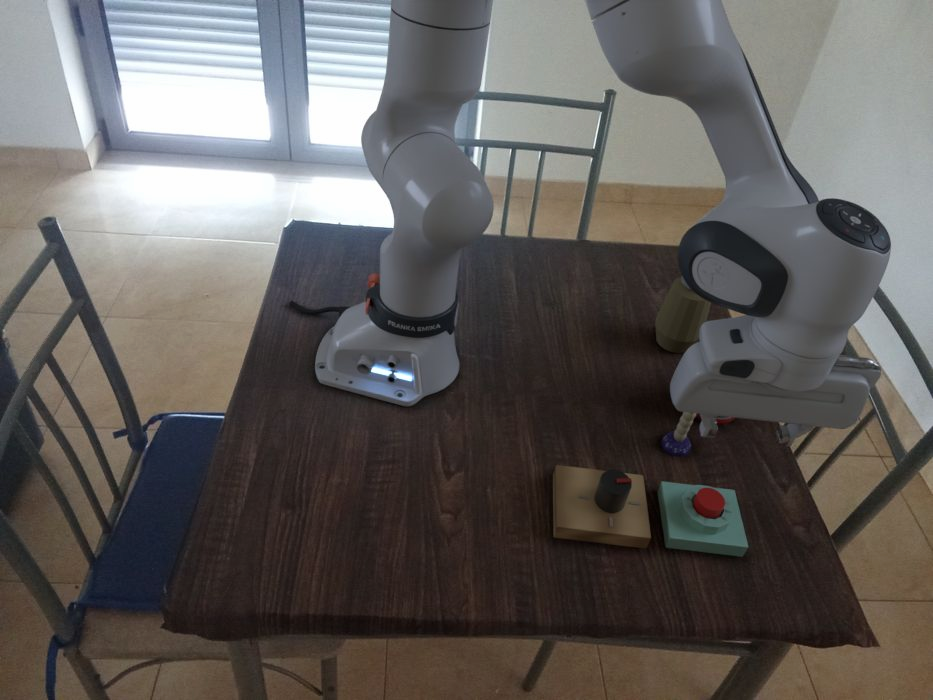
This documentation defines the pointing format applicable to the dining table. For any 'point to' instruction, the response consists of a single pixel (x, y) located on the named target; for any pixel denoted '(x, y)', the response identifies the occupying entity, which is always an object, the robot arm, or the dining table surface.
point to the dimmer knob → (612, 491)
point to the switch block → (700, 521)
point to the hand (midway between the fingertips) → (744, 437)
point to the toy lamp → (679, 437)
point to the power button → (709, 502)
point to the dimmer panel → (597, 510)
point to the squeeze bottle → (680, 317)
